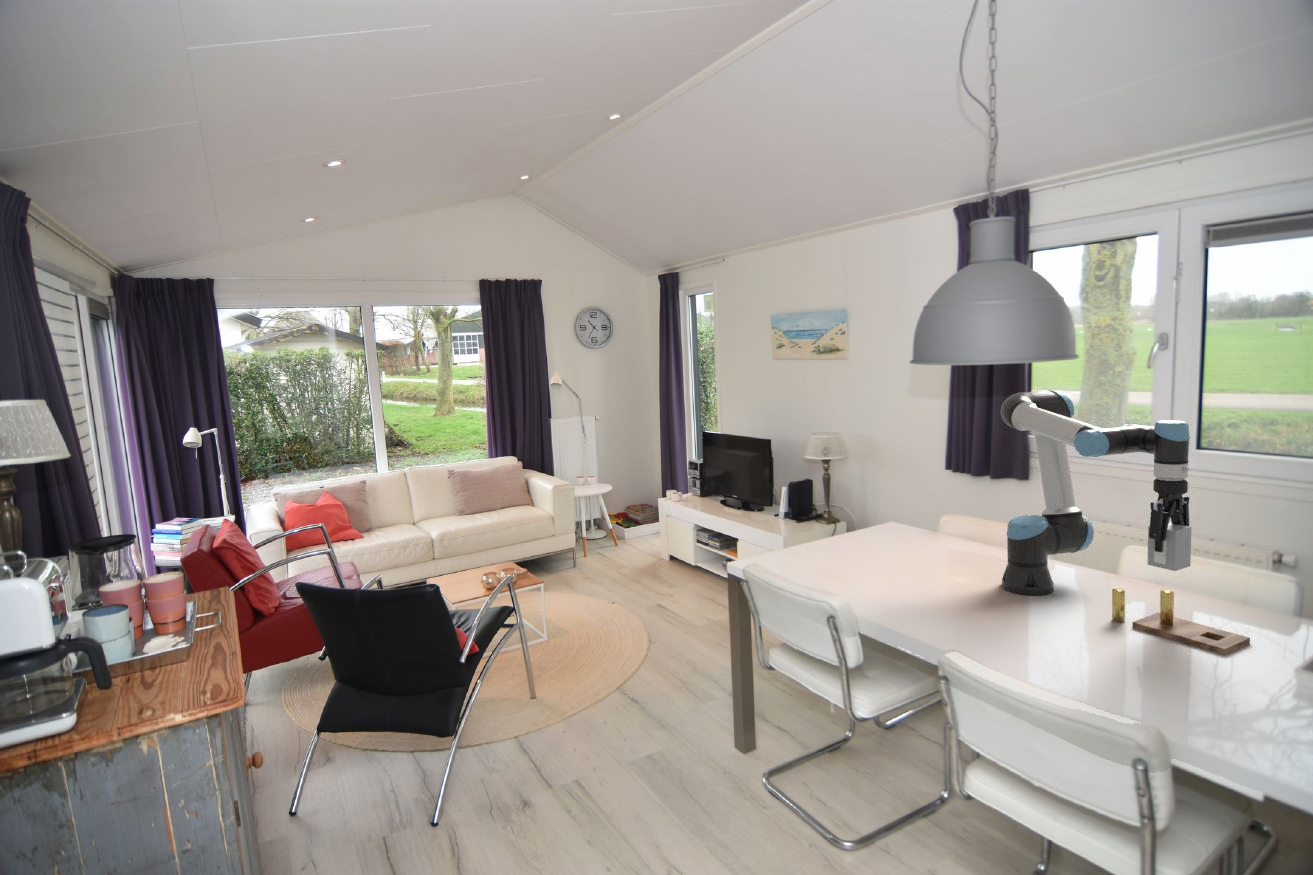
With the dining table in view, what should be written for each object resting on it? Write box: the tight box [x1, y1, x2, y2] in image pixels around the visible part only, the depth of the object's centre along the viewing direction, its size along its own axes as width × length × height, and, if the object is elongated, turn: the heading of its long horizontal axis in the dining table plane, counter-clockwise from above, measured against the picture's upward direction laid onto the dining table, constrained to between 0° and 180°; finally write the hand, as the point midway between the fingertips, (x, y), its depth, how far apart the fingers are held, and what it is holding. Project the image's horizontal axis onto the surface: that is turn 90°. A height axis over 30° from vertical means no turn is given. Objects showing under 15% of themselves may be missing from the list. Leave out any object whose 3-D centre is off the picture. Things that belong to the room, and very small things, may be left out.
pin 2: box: [1159, 589, 1175, 625], centre depth 193 cm, size 3×3×9 cm
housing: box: [1147, 522, 1192, 572], centre depth 193 cm, size 7×7×11 cm
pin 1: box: [1111, 587, 1126, 623], centre depth 201 cm, size 3×3×9 cm
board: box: [1132, 612, 1251, 656], centre depth 189 cm, size 22×12×2 cm, turn 26°
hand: (1168, 560), depth 193 cm, fingers closed on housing, 7 cm apart
